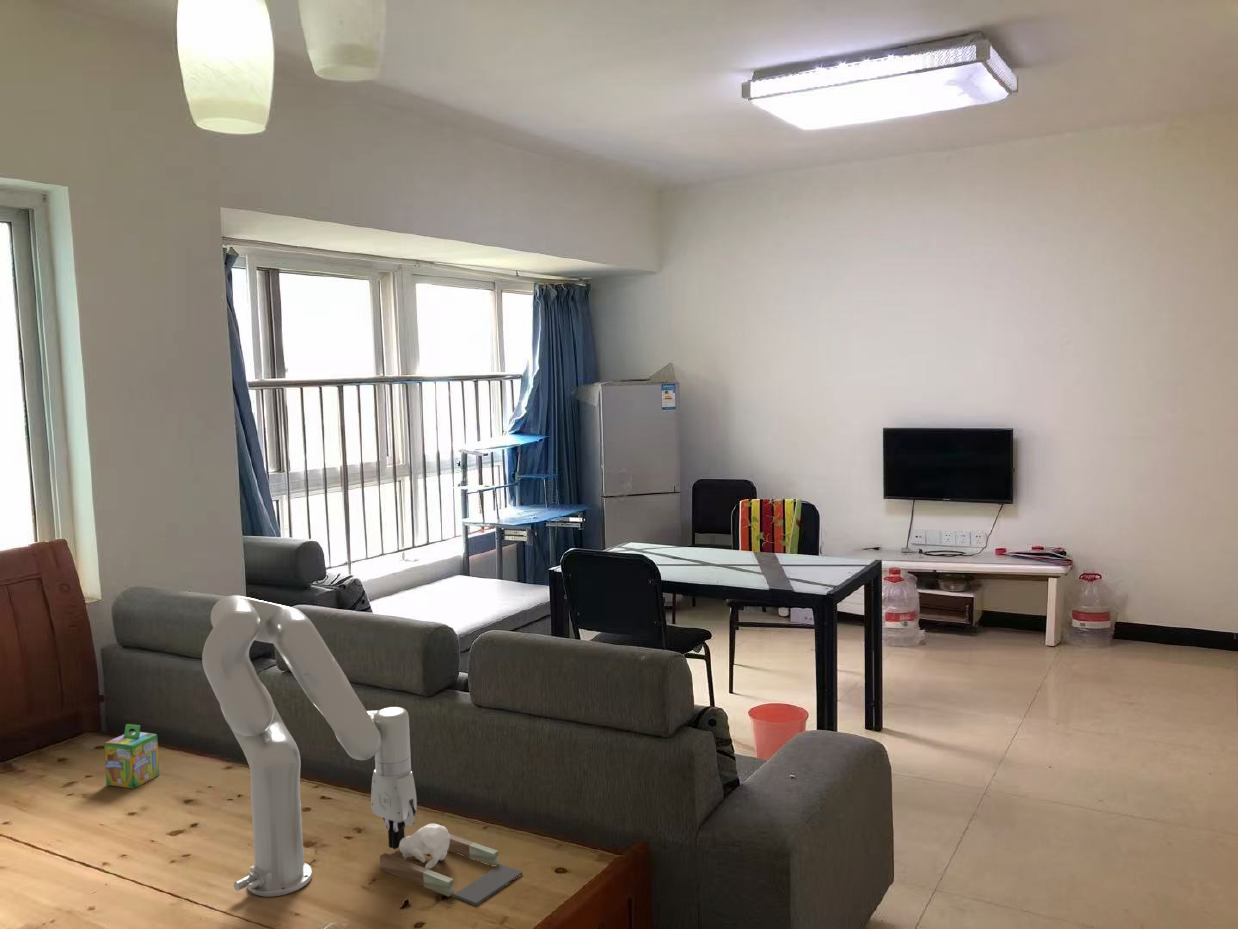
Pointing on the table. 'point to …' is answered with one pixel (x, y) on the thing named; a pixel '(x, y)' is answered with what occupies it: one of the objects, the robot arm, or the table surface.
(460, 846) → the parallel bars
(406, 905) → the table surface
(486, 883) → the mat
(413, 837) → the white figurine
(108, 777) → the chalk box
